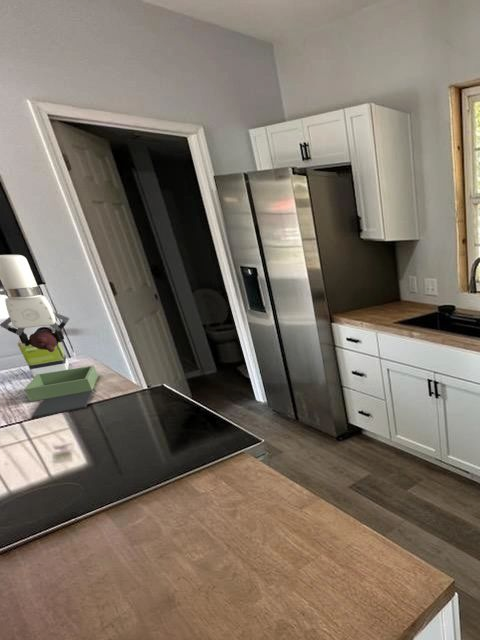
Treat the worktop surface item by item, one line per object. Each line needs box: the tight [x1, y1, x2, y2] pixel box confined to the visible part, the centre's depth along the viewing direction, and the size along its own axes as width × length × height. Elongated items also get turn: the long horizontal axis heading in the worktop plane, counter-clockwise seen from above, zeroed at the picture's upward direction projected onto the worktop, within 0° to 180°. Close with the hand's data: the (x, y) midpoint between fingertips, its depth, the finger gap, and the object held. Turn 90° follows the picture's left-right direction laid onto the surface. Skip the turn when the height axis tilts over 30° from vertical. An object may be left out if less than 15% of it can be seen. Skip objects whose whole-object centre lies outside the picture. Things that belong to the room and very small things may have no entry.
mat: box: [31, 390, 93, 419], centre depth 138 cm, size 12×18×1 cm, turn 39°
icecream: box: [29, 330, 60, 352], centre depth 145 cm, size 7×7×15 cm
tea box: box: [17, 331, 70, 378], centre depth 168 cm, size 15×10×15 cm, turn 44°
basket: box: [23, 365, 99, 402], centre depth 152 cm, size 16×20×4 cm
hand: (44, 343), depth 145 cm, fingers closed on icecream, 7 cm apart
